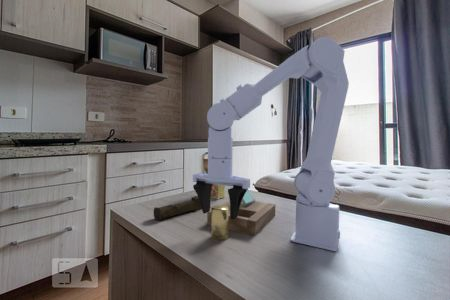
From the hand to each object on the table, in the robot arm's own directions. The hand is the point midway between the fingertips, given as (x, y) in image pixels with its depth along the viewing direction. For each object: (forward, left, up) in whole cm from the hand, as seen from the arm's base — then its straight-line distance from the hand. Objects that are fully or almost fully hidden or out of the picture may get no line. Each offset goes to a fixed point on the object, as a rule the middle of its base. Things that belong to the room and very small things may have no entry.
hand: (219, 215), depth 52 cm
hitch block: (0, -13, -5) cm, 14 cm away
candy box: (+21, -30, -6) cm, 37 cm away
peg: (0, 0, -5) cm, 5 cm away
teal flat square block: (+1, -17, 0) cm, 17 cm away
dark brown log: (+19, -9, -6) cm, 22 cm away
